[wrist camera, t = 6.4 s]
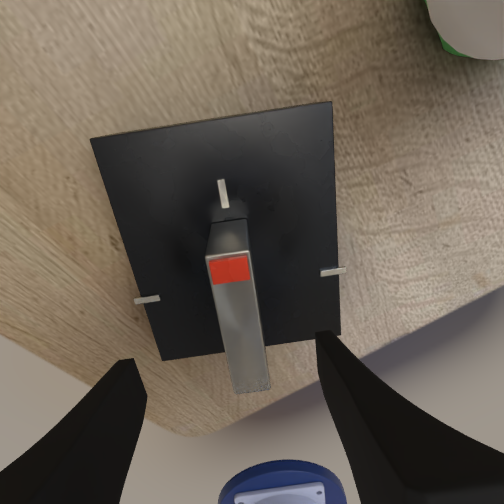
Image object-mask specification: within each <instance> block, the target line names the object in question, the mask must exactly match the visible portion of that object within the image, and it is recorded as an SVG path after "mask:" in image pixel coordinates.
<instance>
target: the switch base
mask: <svg viewBox="0 0 504 504" xmlns="http://www.w3.org/2000/svg"><path fill="white" fill-rule="evenodd" d="M90 142H91V145H92V148H93V151H94V154H95V158H96V161H97V164H98V167H99V170H100V173H101V176H102V179H103V182H104V185H105V188H106V191H107V194H108V197H109V200H110V203H111V206H112V209H113V212H114V215H115V219H116V222H117V225H118V228H119V231H120V234H121V237H122V240H123V243H124V246H125V249H126V252H127V255H128V258H129V261H130V264H131V267H132V270H133V273H134V276H135V280H136V283H137V286H138V289H139V292H140V295H141V297H135V298H134V301H135V304H141V303H143V304H144V307H145V310H146V313H147V316H148V319H149V322H150V325H151V328H152V331H153V334H154V338H155V341H156V344H157V347H158V350H159V353H160V356H161V359H162V361H167V360H174V359H181V358H188V357H195V356H202V355H208V354H215V353H222V352H225V349H224V344H223V339H222V335H221V330H220V325H219V321H218V316H217V311H216V307H215V302H214V298H213V293H212V288H211V284H210V279H209V274H208V270H207V265H206V260H205V254H206V249H207V244H208V239H209V234H210V229H211V224H214V223H221V222H228V221H235V220H241V219H246V220H247V226H248V233H249V239H250V246H251V253H252V259H253V266H254V273H255V279H256V286H257V293H258V299H259V306H260V313H261V319H262V326H263V333H264V340H265V346H270V345H277V344H284V343H291V342H298V341H304V340H311V339H315V332H319V331H326V330H331V331H333V332H334V334H335V335H336V336H339V335H341V322H340V295H339V274H343V273H346V267H345V266H344V267H338V241H337V214H336V187H335V160H334V133H333V106H332V101H327V102H315V103H309V104H302V105H296V106H289V107H283V108H276V109H270V110H263V111H257V112H251V113H244V114H238V115H231V116H225V117H218V118H212V119H205V120H199V121H192V122H186V123H180V124H173V125H167V126H160V127H154V128H147V129H141V130H134V131H128V132H122V133H115V134H110V135H105V136H100V137H95V138H91V139H90Z"/></svg>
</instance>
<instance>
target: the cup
mask: <svg viewBox="0 0 504 504" xmlns="http://www.w3.org/2000/svg"><path fill="white" fill-rule="evenodd" d="M424 1H425V3H426V6H427V8H428V10H429V15H430V19H431V22H432V23H433V25H434V27H435V28H436V30H437V32H438V35H439V37H440V40H441V43H442V47H443V49H444V50H446V51H447V52H449V53H451V54H454V55H457V56H463V57H472V58H475V59H486V60H499V59H504V0H424Z"/></svg>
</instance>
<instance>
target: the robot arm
mask: <svg viewBox="0 0 504 504" xmlns="http://www.w3.org/2000/svg"><path fill="white" fill-rule="evenodd" d="M315 340H316V354H317V367H318V375H319V378H320V382H321V386H322V390H323V393H324V397H325V400H326V402H327V405H328V408H329V410H330V413H331V416H332V418H333V421H334V423H335V426H336V428H337V431H338V434H339V436H340V439H341V441H342V444H343V447H344V449H345V452H346V455H347V457H348V460H349V463H350V466H351V470H352V473H353V477H354V480H355V484H356V487H357V490H358V494H359V498H360V501H361V504H504V453H502V452H499V451H498V450H495V449H493V448H491V447H489V446H487V445H485V444H483V443H480V442H478V441H476V440H474V439H472V438H470V437H468V436H466V435H464V434H463V433H461V432H459V431H457V430H455V429H453V428H451V427H450V426H448V425H446V424H444V423H443V422H441V421H439V420H438V419H436V418H434V417H433V416H431V415H429V414H428V413H426V412H425V411H423V410H422V409H420V408H418V407H417V406H415V405H414V404H412V403H411V402H410V401H408V400H407V399H405V398H404V397H403V396H401V395H400V394H399V393H397V392H396V391H394V390H393V389H392V388H391V387H389V386H388V385H387V384H386V383H385V382H383V381H382V380H381V379H380V378H378V377H377V376H376V375H375V374H374V373H373V372H371V371H370V369H368V368H367V367H366V366H365V365H364V364H363V363H362V362H361V361H360V360H359V359H358V358H357V357H356V356H355V355H354V354H353V353H352V352H351V351H350V350H349V349H348V348H347V347H346V346H345V345H344V344H343V343H342V342H341V340H340V339H339V338H338V337H337V336H336V335H335V334H334V332H333V331H331V330H326V331H319V332H315ZM146 403H147V393H146V391H145V388H144V385H143V382H142V380H141V377H140V374H139V371H138V369H137V366H136V363H135V360H134V358H131V359H124V360H118V361H117V362H116V363H115V364H114V365H113V366H112V367H111V368H110V370H109V371H108V372H107V373H106V374H105V375H104V376H103V377H102V378H101V379H100V380H99V381H98V383H97V384H96V385H95V386H94V387H93V388H92V389H91V390H90V391H89V392H88V393H87V394H86V396H84V397H83V399H82V400H81V401H80V402H79V403H78V404H77V405H76V406H75V407H74V408H73V409H72V410H71V411H70V412H69V413H68V414H67V415H66V416H65V417H64V418H63V419H62V420H61V421H60V422H59V423H58V424H57V425H56V426H54V427H53V428H52V429H51V430H50V431H49V432H48V433H47V434H46V435H45V436H44V437H42V438H41V439H40V440H39V441H38V442H37V443H35V444H34V445H33V446H32V447H31V448H30V449H29V450H27V451H26V452H25V453H24V454H23V455H21V456H20V457H19V458H17V459H16V460H15V461H14V462H12V463H11V464H10V465H8V466H7V467H6V468H5V469H3V470H2V471H1V472H0V504H119V502H120V497H121V494H122V490H123V486H124V483H125V479H126V476H127V473H128V470H129V467H130V464H131V460H132V457H133V454H134V451H135V447H136V444H137V441H138V438H139V434H140V431H141V427H142V424H143V420H144V414H145V409H146ZM234 501H235V504H325V493H324V486H323V483H322V482H312V483H305V484H297V485H290V486H283V487H276V488H269V489H262V490H255V491H248V492H241V493H237V494H235V496H234Z"/></svg>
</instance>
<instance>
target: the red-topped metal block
mask: <svg viewBox="0 0 504 504" xmlns="http://www.w3.org/2000/svg"><path fill="white" fill-rule="evenodd" d="M205 260H206V265H207V270H208V274H209V279H210V284H211V288H212V293H213V298H214V302H215V307H216V311H217V316H218V321H219V325H220V330H221V335H222V339H223V344H224V349H225V353H226V358H227V363H228V367H229V372H230V377H231V381H232V386H233V390H234V393H235V394H242V393H249V392H256V391H263V390H269V389H270V388H271V386H270V379H269V371H268V363H267V355H266V348H265V340H264V333H263V326H262V319H261V313H260V306H259V299H258V293H257V286H256V279H255V273H254V266H253V259H252V253H251V246H250V239H249V233H248V226H247V220H246V219H241V220H235V221H228V222H221V223H214V224H211V229H210V234H209V239H208V244H207V249H206V254H205Z"/></svg>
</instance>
